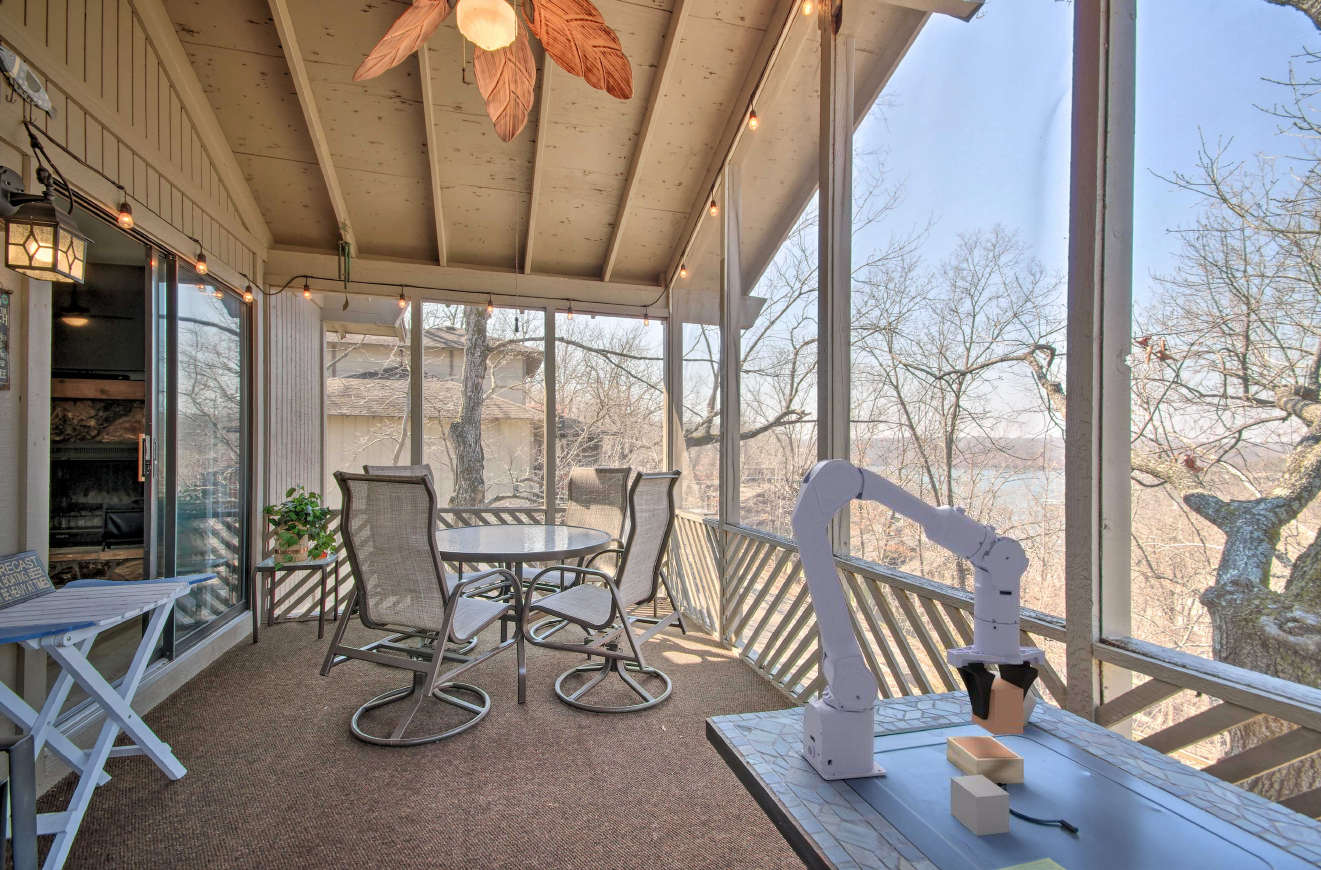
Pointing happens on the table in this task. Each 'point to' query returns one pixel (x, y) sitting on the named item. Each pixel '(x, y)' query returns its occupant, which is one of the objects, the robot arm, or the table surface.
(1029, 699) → the die
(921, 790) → the table surface
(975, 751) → the maple base
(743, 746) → the table surface
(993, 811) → the grey block
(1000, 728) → the terracotta block
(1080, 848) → the table surface
